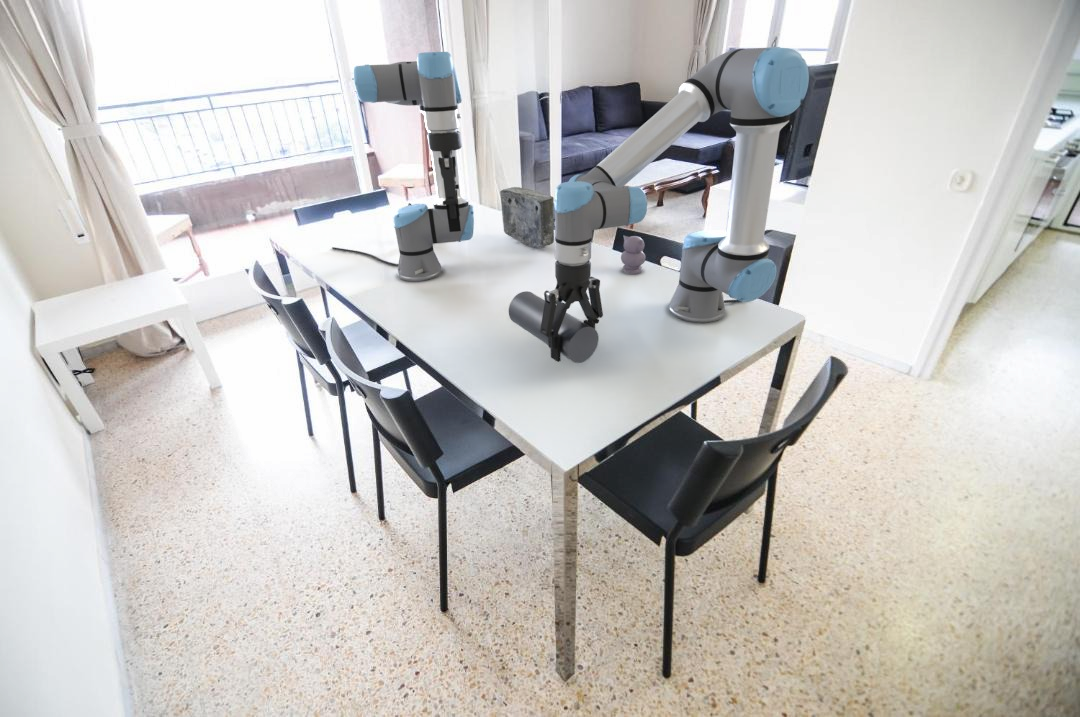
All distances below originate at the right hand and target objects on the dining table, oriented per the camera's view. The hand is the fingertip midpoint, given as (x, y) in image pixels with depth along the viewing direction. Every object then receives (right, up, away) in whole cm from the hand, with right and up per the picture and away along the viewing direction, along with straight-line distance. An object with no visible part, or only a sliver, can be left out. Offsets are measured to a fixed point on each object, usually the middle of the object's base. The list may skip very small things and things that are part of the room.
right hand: (572, 352), depth 116 cm
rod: (-5, +3, +6) cm, 8 cm away
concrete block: (-11, +45, +84) cm, 96 cm away
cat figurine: (+24, +29, +56) cm, 68 cm away
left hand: (-29, +33, +9) cm, 44 cm away
